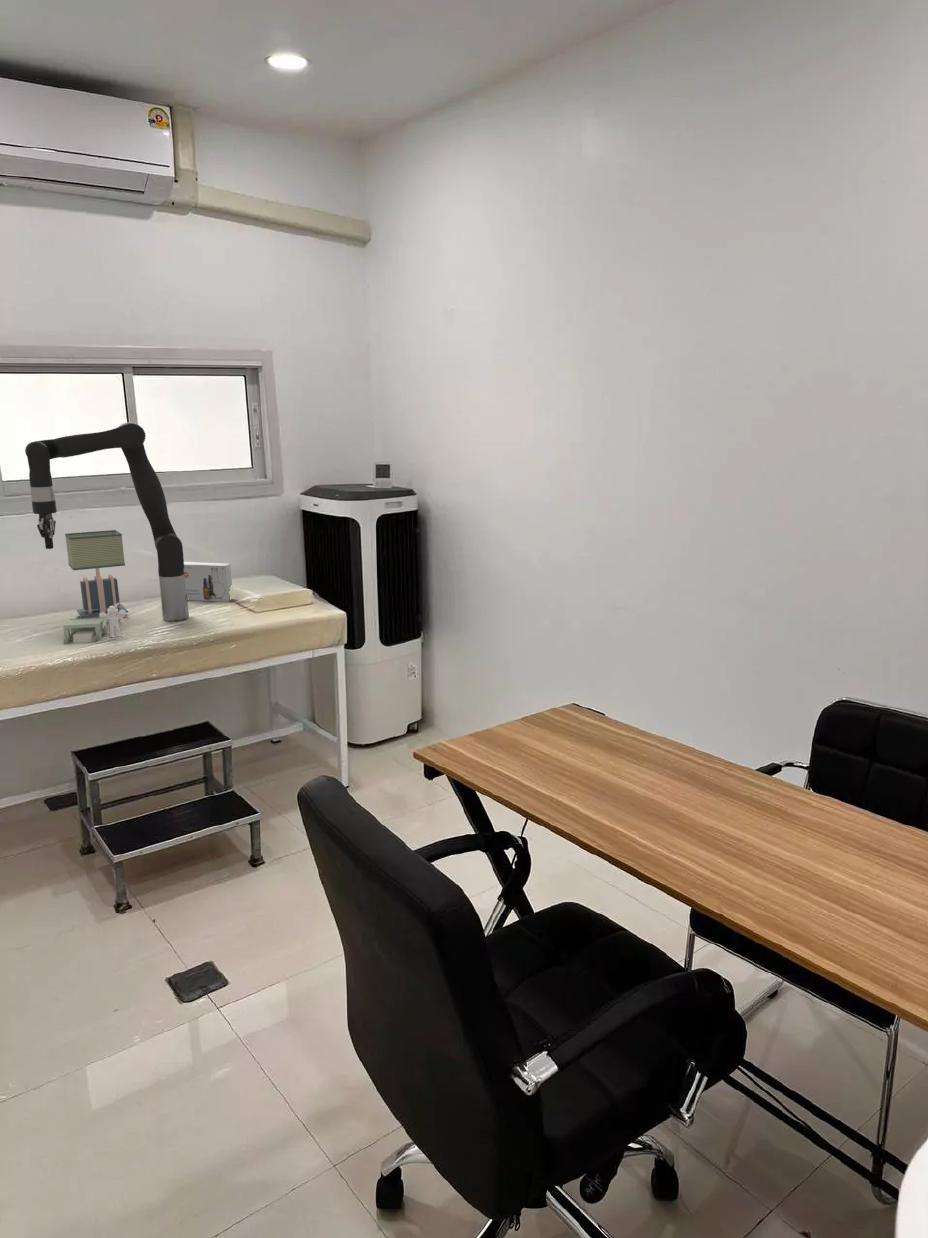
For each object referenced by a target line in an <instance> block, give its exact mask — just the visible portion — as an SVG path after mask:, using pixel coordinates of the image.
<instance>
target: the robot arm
mask: <svg viewBox="0 0 928 1238" xmlns="http://www.w3.org/2000/svg"><path fill="white" fill-rule="evenodd" d="M146 437H147V436H146V432H145V429H144V428H143V427H142V426H141V425H139V424H137V423H135V422H124V423H121V424H120V425H119V426H118V427H115V428H112V429H109V430H104V431H99V432H97V431H96V432H88V433H79V434H72V435H65V436H61V437H57V438H53V439H52V438H51V439H43V440H35V441H31V442H29V443H28V444H27V445H26V446H25V449H24V451H25V455H26V457H27V463H28V469H29V472H28V477H29V478H28V479H29V486H30V487H29V488H30V499H31V505H32V506H31V507H32V513H33V514H35V515H38V524H37V525H36V526H37V529H38V532H39V534H40V537H41V538H43V539H44V546H45V549H46V550H52V549H54V541H53V538H54V536H55V533H56V532H55V531H56V520H55V519H54V517H53V515H52V514H56V513H57V512H58V510H57V503H56V494H55V489H54V485H53V478H52V473H51V460H52V459H54V460H55V459H57V458H70V457H74V456H75V457H76V456H81V455H85V454H90V453H94V452H98V451H103V450H108V449H109V450H110V449H121V451H122V453H123V455H124V457H125V459H126V462H127V465H128V469H129V472H130V476H131V479H132V483H133V485H134V490H135V493H136V495H137V496H136V497H137V499H138V502H139V503H140V506H141V508H142V510H143V513H144V515H145V516H146V518H147V520H148V523H149V524H150V525H149V526H150V529H151V533H152V537H153V541H154V542H153V543H154V547H155V549H156V553H157V564H158V566H157V567H158V569H157V571H158V581H159V591H160V600H161V601H160V602H161V613H162V614H161V615H162V620H163V621H165V620H166V621H167V622H176V621H175V620H178V621H183V620H182V619H186V620H188V618H189V616H190V611H189V600H188V599H187V592H186V590H185V579H184V562H185V560H184V550H183V549H184V548H183V542H182V540H181V539H180V537H178V535H177V534H176V532H175V530H174V527H173V525H172V523H171V520H170V517H169V511H168V505H167V500H166V496H165V493H164V489H163V487H162V484H161V481H160V479H159V477H158V475H157V472H156V471H155V469H154V467H153V466H152V464H151V462H150V460H149V458H148V456H147V453H146V452H147V451H146V449H145V445H144V443H145V441H146Z"/></svg>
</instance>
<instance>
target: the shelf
mask: <svg viewBox="0 0 928 1238" xmlns="http://www.w3.org/2000/svg"><path fill="white" fill-rule="evenodd" d="M103 621H104V619H102V618H84V619H83V618H70V619H69V620H68V621H66V622H65V623H64V624H63V625H62V628H63V629H62V630H63V636H64V637H63V638H64V640H63V641H64V645H67V644H69V643H70V642H71V641H73V635H74V634H75V633H76V632H77V631H78V630H79V629H80V628H95V631H96V635H95V636H93V637H92V638H91V639H92V642H94V643H96V642H97V641H98V640H102V639H103V635H107V634H108V627H107V622H106V623H105V624H106V625H105V626H104V629H103V628H102V624H103ZM92 642H91V643H92Z"/></svg>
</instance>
